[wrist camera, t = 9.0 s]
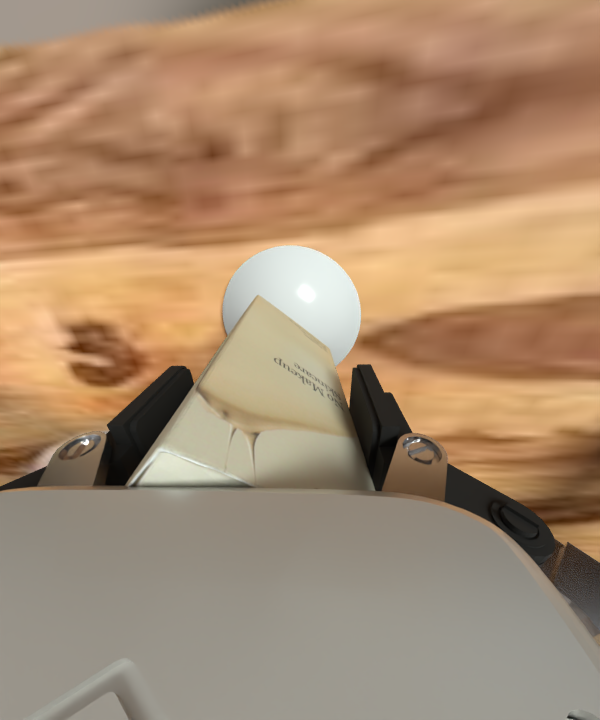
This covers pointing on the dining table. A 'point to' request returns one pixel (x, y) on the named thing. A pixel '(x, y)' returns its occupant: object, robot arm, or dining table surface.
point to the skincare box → (261, 416)
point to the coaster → (299, 294)
